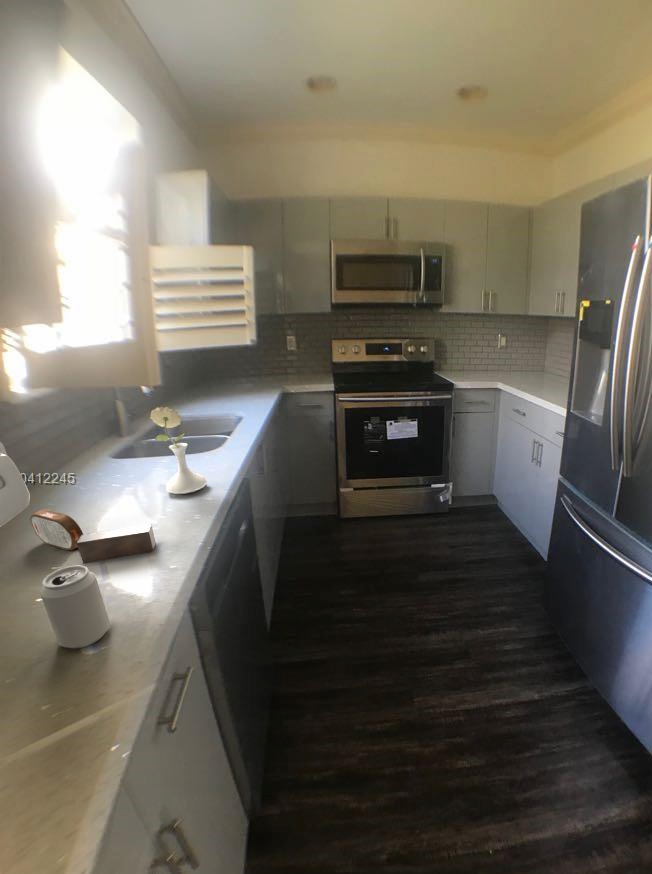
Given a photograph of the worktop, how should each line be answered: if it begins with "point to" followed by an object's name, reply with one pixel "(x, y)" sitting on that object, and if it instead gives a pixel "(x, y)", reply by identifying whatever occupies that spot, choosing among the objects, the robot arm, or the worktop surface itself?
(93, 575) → the can
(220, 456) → the worktop surface
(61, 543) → the tin
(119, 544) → the brown rectangular block
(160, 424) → the flower in vase
